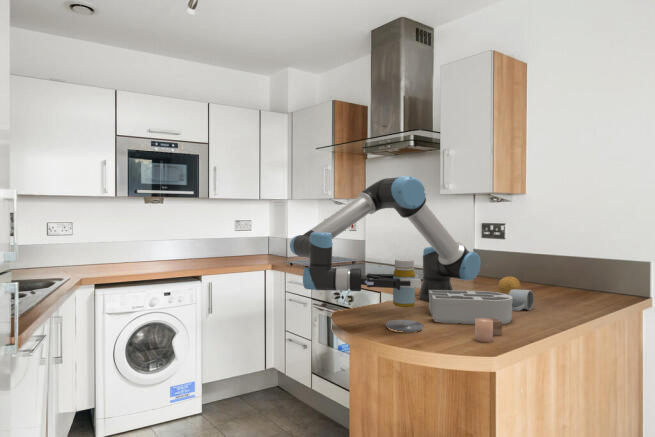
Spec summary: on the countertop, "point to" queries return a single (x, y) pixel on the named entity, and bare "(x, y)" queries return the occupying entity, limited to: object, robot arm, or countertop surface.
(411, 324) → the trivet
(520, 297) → the ceramic mug
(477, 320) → the pink rounded block
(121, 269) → the countertop surface
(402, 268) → the bottle
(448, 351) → the countertop surface
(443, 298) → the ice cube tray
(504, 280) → the potato
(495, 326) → the walnut block
